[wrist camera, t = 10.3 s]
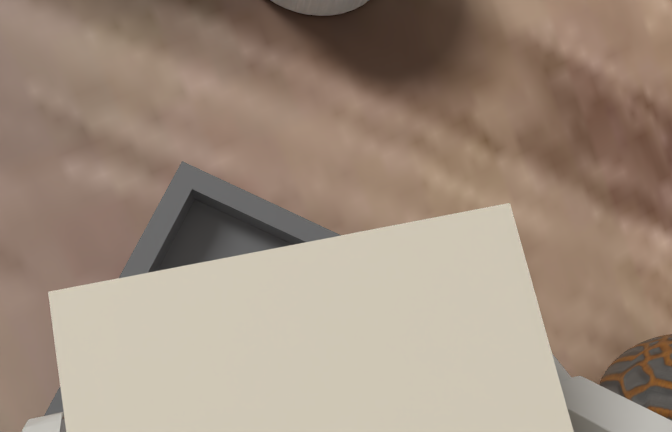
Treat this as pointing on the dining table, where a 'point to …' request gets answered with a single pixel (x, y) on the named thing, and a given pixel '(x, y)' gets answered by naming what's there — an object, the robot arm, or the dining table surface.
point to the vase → (644, 375)
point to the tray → (210, 228)
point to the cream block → (319, 338)
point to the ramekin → (320, 6)
